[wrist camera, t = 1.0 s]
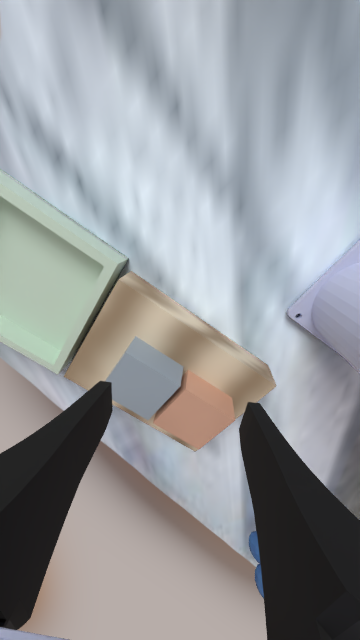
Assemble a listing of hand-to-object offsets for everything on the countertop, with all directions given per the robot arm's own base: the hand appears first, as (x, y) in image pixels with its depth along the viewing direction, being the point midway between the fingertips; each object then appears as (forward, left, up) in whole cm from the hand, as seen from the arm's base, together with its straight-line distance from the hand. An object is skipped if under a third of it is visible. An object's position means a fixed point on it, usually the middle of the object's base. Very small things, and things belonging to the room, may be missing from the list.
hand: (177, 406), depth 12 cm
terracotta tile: (-4, +5, -7) cm, 10 cm away
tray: (+14, +5, -10) cm, 18 cm away
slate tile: (+1, +5, -7) cm, 9 cm away
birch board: (-1, +5, -10) cm, 11 cm away
